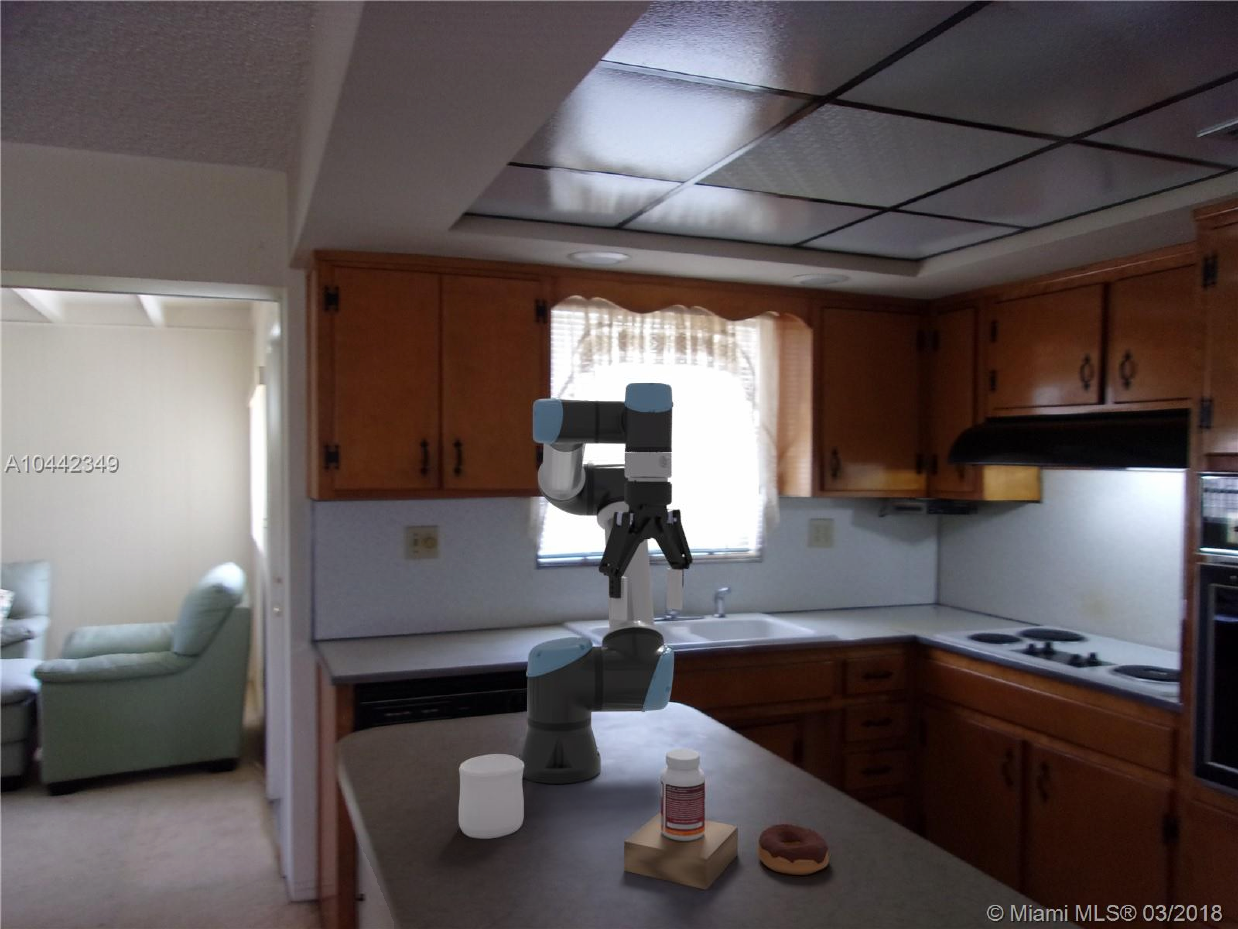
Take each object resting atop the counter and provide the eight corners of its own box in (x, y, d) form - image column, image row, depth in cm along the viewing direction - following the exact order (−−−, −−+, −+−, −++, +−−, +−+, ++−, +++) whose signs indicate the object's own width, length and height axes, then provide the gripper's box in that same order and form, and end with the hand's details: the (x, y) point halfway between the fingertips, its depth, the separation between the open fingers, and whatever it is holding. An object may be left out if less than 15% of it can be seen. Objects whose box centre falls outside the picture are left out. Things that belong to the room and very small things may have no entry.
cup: (533, 819, 141) (534, 757, 141) (504, 844, 131) (505, 777, 131) (479, 811, 144) (479, 750, 144) (447, 835, 134) (447, 770, 134)
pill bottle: (714, 836, 125) (714, 756, 125) (678, 846, 121) (678, 764, 121) (686, 821, 130) (687, 744, 130) (651, 830, 127) (652, 752, 127)
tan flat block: (624, 870, 123) (624, 841, 123) (660, 838, 134) (660, 811, 134) (706, 890, 117) (706, 859, 117) (737, 854, 128) (737, 826, 128)
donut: (813, 886, 119) (813, 856, 119) (745, 867, 125) (745, 838, 125) (839, 858, 128) (839, 830, 128) (774, 842, 133) (774, 815, 133)
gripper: (612, 481, 131) (611, 627, 131) (714, 479, 150) (713, 607, 150) (576, 480, 136) (575, 621, 136) (678, 478, 155) (677, 602, 155)
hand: (647, 614), depth 143 cm, fingers open, 13 cm apart
